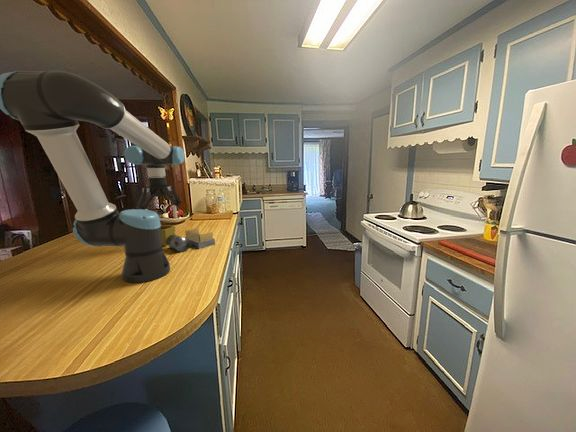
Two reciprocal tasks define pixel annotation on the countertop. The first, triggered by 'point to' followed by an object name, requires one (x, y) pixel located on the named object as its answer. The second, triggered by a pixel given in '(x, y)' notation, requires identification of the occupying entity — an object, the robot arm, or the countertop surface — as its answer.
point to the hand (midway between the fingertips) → (162, 220)
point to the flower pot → (166, 233)
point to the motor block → (190, 240)
